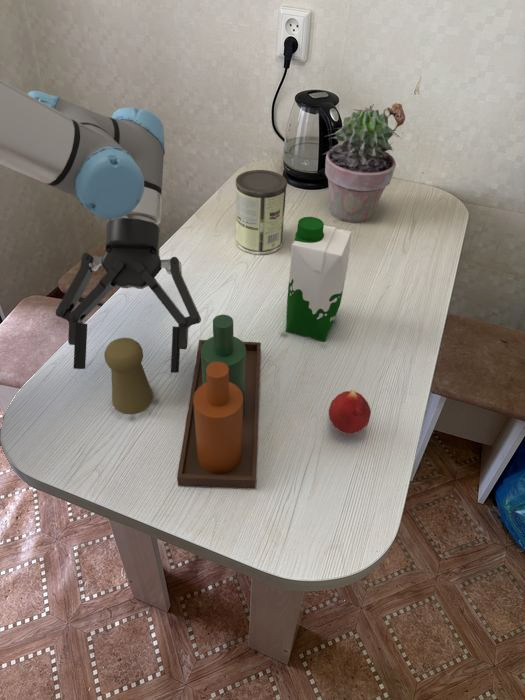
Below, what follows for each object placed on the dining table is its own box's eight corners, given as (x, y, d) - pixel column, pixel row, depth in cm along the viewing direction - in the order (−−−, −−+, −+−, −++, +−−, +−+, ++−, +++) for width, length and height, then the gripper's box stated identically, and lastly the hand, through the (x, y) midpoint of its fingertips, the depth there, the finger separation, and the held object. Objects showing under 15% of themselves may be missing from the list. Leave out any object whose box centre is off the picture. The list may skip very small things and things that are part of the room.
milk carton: (293, 304, 95) (303, 207, 81) (340, 316, 93) (359, 218, 79) (279, 334, 89) (288, 233, 75) (329, 346, 87) (347, 246, 73)
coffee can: (249, 225, 115) (251, 165, 105) (290, 238, 112) (295, 177, 102) (226, 246, 108) (225, 183, 99) (268, 260, 105) (272, 197, 95)
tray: (178, 486, 66) (176, 477, 65) (199, 348, 85) (199, 339, 84) (255, 489, 66) (256, 480, 65) (260, 351, 85) (260, 342, 84)
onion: (368, 419, 76) (378, 383, 70) (361, 449, 72) (372, 413, 66) (330, 409, 77) (338, 372, 71) (321, 438, 73) (329, 402, 67)
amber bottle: (195, 473, 67) (187, 387, 55) (200, 436, 71) (194, 350, 60) (240, 475, 67) (242, 390, 55) (242, 438, 71) (244, 352, 60)
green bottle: (202, 422, 73) (196, 335, 61) (206, 391, 77) (201, 304, 66) (243, 424, 73) (245, 338, 61) (245, 393, 78) (247, 307, 66)
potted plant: (294, 201, 124) (304, 93, 107) (363, 190, 130) (383, 85, 113) (329, 238, 112) (347, 123, 95) (402, 224, 118) (431, 113, 101)
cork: (126, 420, 73) (114, 368, 66) (104, 396, 77) (90, 344, 69) (161, 400, 77) (153, 347, 69) (139, 378, 80) (129, 325, 72)
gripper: (222, 233, 77) (216, 373, 76) (57, 226, 76) (50, 366, 76) (218, 220, 69) (212, 374, 69) (35, 211, 69) (27, 367, 68)
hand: (127, 371), depth 72 cm, fingers open, 13 cm apart
